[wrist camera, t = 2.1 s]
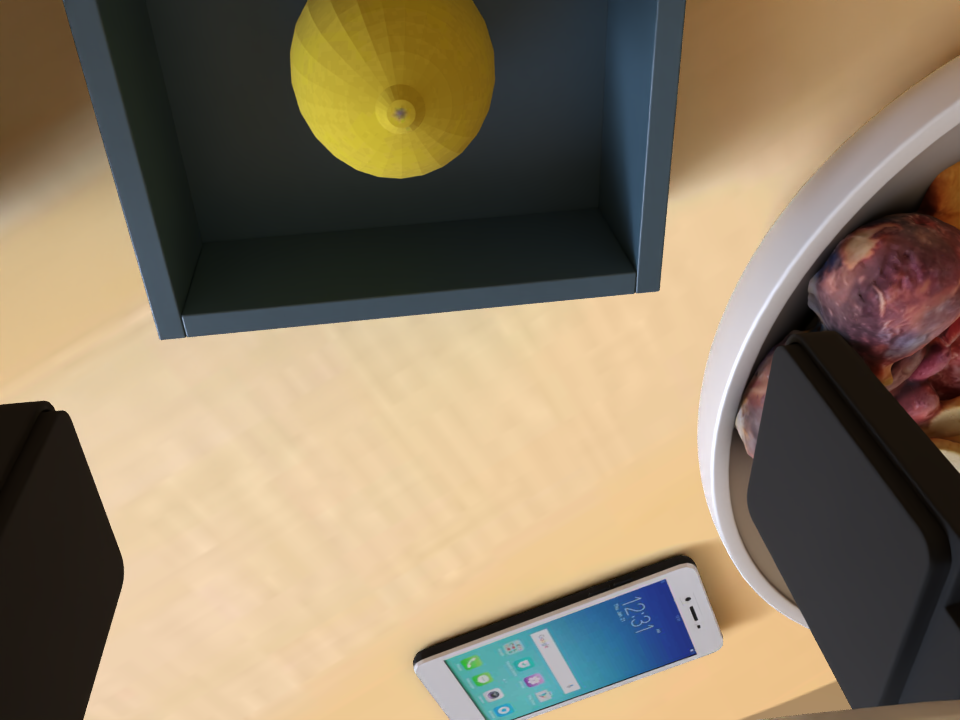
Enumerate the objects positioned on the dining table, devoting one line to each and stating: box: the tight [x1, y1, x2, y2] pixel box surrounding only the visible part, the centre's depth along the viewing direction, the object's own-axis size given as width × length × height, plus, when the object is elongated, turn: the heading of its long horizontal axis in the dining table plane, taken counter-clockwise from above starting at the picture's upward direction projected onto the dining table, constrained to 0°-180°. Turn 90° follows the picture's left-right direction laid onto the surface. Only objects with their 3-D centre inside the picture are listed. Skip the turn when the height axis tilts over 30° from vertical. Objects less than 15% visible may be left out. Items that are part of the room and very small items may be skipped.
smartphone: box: [413, 555, 723, 720], centre depth 45 cm, size 8×1×15 cm
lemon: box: [290, 0, 495, 179], centre depth 24 cm, size 6×6×8 cm
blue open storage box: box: [63, 0, 686, 340], centre depth 25 cm, size 16×15×5 cm
